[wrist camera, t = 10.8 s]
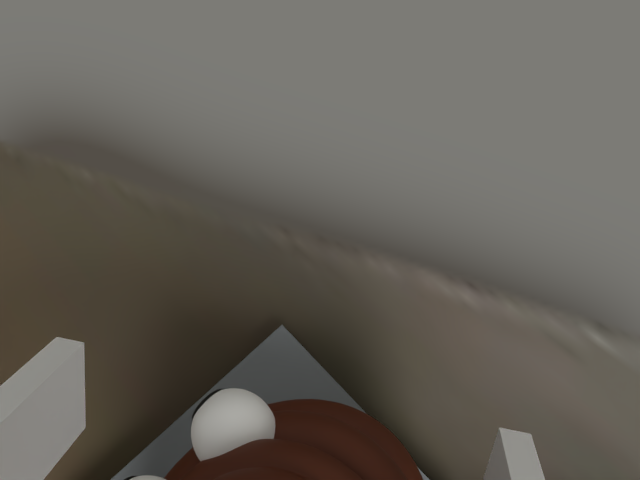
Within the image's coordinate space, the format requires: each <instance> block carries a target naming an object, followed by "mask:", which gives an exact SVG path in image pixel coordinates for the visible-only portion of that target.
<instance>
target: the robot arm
mask: <svg viewBox="0 0 640 480" xmlns="http://www.w3.org/2000/svg"><path fill="white" fill-rule="evenodd" d="M85 428H86V420H85V358H84V342H79V341H74V340H70V339H65V338H60V337H56V338H55V339H54V340H52V341H51V342H50V343H49V344H48V345H47V346H46V347H44V348H43V349H42V350H41V351H40V352H39V353H37V354H36V355H35V356H34V357H33V358H32V359H31V360H29V361H28V362H27V363H26V364H25V365H24V366H23V367H21V368H20V369H19V370H18V371H17V372H16V373H15V374H13V375H12V376H11V377H10V378H9V379H8V380H7V381H5V382H4V383H3V384H2V385H1V386H0V480H44V478H45V477H46V476H47V475H48V473H49V472H50V471H51V470H52V469H53V467H54V466H55V465H56V464H57V462H58V461H59V460H60V459H61V457H62V456H63V455H64V454H65V452H66V451H67V450H68V449H69V448H70V446H71V445H72V444H73V443H74V441H75V440H76V439H77V438H78V436H79V435H80V434H81V433H82V431H83V430H84V429H85ZM483 480H545V478H544V475H543V472H542V468H541V465H540V462H539V459H538V455H537V452H536V449H535V446H534V442H533V439H532V436H531V434H529V433H524V432H519V431H514V430H509V429H504V428H499V430H498V433H497V436H496V439H495V442H494V446H493V449H492V452H491V455H490V458H489V462H488V465H487V468H486V471H485V474H484V478H483Z"/></svg>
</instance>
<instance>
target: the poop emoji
mask: <svg viewBox="0 0 640 480" xmlns="http://www.w3.org/2000/svg"><path fill="white" fill-rule="evenodd" d="M192 420H193V421H192V426H191V440H192V445H193V447H192V448H191V449H190V450H189V451H188V452H187V453H186V454H185V455H184V456H183V457H182V458H181V459H180V460H179V461H178V462H177V463H176V464H175V465H174V466H173V468H172V469H171V470H170V471H169V472H168V473H167V475H166V476H165V477H164V478H161V477H158V476H151V475H143V476H130V477H128V478H126V479H124V480H423V478H422V476H421V474H420V471H419V469H418V467H417V465H416V464H415V462H414V460H413V459H412V457H411V455H410V454H409V452H408V451H407V450H406V448H405V447H404V446H403V444H402V443H401V442H400V441H399V440H398V439H397V437H396V436H395V435H394V434H393V433H392V432H391V431H390V430H388V429H387V428H386V427H385V426H384V425H382V424H381V423H380V422H378V421H377V420H376V419H374V418H373V417H371V416H369V415H368V414H366V413H364V412H362V411H360V410H358V409H355V408H353V407H350V406H348V405H345V404H341V403H337V402H333V401H327V400H319V399H295V400H286V401H281V402H276V403H271V404H268V405H267V404H266V403H265V402H264V401H263V400H262V399H261V398H260V397H259V396H257V395H256V394H254V393H252V392H250V391H247V390H244V389H238V388H229V389H217V390H215V391H213V392H212V393H210V394H209V395H208V396H207V397H205V398H204V399H203V400H202V401H201V402H200V404H199V405H198V406H197V407H196V409H195V411H194V412H193V415H192Z"/></svg>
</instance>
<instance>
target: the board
mask: <svg viewBox="0 0 640 480" xmlns="http://www.w3.org/2000/svg"><path fill="white" fill-rule="evenodd" d="M229 388H238V389H244V390H247V391H250V392H252V393H254V394H256V395H257V396H259V397H260V398H261V399H262V400H263V401H264V402H265V403H266V404H267V405H268V404H271V403H276V402H281V401H286V400H295V399H319V400H327V401H333V402H337V403H341V404H345V405H348V406H350V407H353V408H355V409H358V410H360V411H362V412H364V413H366V412H365V411H364V410H363V409H362V408H361V407H360V406H359V405H358V404H357V403H356V402H355V401H354V400H353V399H352V398H351V397H350V396H349V395H348V393H347V392H346V391H345V390H344V389H343V388H342V387H341V386H340V385H339V384H338V383H337V382H336V381H335V380H334V379H333V378H332V377H331V376H330V375H329V374H328V372H327V371H326V370H325V369H324V368H323V367H322V366H321V365H320V364H319V363H318V362H317V361H316V360H315V359H314V358H313V357H312V356H311V355H310V354H309V352H308V351H307V350H306V349H305V348H304V347H303V346H302V345H301V344H300V343H299V342H298V341H297V340H296V339H295V338H294V337H293V336H292V335H291V334H290V333H289V331H288V330H287V329H286V328H285V327H284V326H283V325H281V326H280V327H279V328H278V329H276V330H275V331H274V332H273V333H272V334H271V335H270V336H269V337H268V338H266V339H265V340H264V341H263V342H262V343H261V344H260V345H259V346H258V347H257V348H255V349H254V350H253V351H252V352H251V353H250V354H249V355H248V356H247V357H245V358H244V359H243V360H242V361H241V362H240V363H239V364H238V365H237V366H236V367H234V368H233V369H232V370H231V371H230V372H229V373H228V374H227V375H226V376H224V377H223V378H222V379H221V380H220V381H219V382H218V383H217V384H216V385H215V386H213V387H212V388H211V389H210V390H209V391H208V392H207V393H206V394H205V395H203V396H202V397H201V398H200V399H199V400H198V401H197V402H196V403H195V404H194V405H192V406H191V407H190V408H189V409H188V410H187V411H186V412H185V413H184V414H183V415H181V416H180V417H179V418H178V419H177V420H176V421H175V422H174V423H173V424H171V425H170V426H169V427H168V428H167V429H166V430H165V431H164V432H163V433H162V434H160V435H159V436H158V437H157V438H156V439H155V440H154V441H153V442H152V443H150V444H149V445H148V446H147V447H146V448H145V449H144V450H143V451H142V452H141V453H139V454H138V455H137V456H136V457H135V458H134V459H133V460H132V461H131V462H129V463H128V464H127V465H126V466H125V467H124V468H123V469H122V470H121V471H120V472H118V473H117V474H116V475H115V476H114V477H113V478H112V479H111V480H124V479H126V478H128V477H130V476H143V475H151V476H158V477H161V478H164V477H165V476H166V475H167V473H168V472H169V471H170V470H171V469H172V468H173V466H174V465H175V464H176V463H177V462H178V461H179V460H180V459H181V458H182V457H183V456H184V455H185V454H186V453H187V452H188V451H189V450H190V449H191V448H192V447H193V445H192V440H191V426H192V421H193V420H192V415H193V412H194V411H195V409H196V407H197V406H198V405H199V404H200V402H201V401H202V400H203V399H204V398H205V397H207V396H208V395H209V394H210V393H212V392H213V391H215V390H217V389H229ZM366 414H367V413H366ZM418 469H419V468H418ZM419 471H420V474H421V476H422V478H423V480H429V479H428V478H427V476H426V475H425V474H424V473H423V472H422V471H421V470H420V469H419Z"/></svg>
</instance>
